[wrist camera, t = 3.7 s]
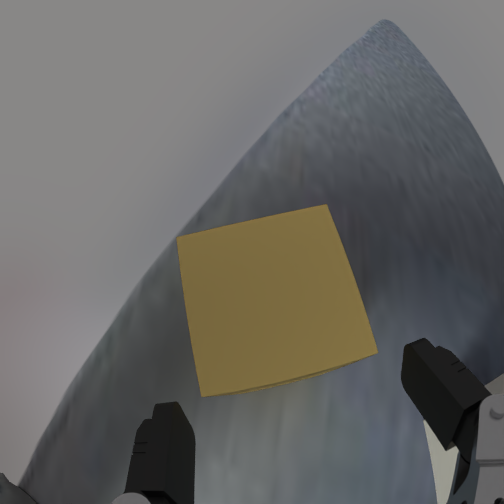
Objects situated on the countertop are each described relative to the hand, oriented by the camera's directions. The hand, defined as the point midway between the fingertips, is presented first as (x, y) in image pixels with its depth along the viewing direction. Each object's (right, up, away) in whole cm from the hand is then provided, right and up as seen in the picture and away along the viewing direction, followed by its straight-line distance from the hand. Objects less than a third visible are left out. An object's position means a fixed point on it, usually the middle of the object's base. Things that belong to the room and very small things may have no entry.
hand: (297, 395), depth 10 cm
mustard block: (0, -1, +9) cm, 9 cm away
